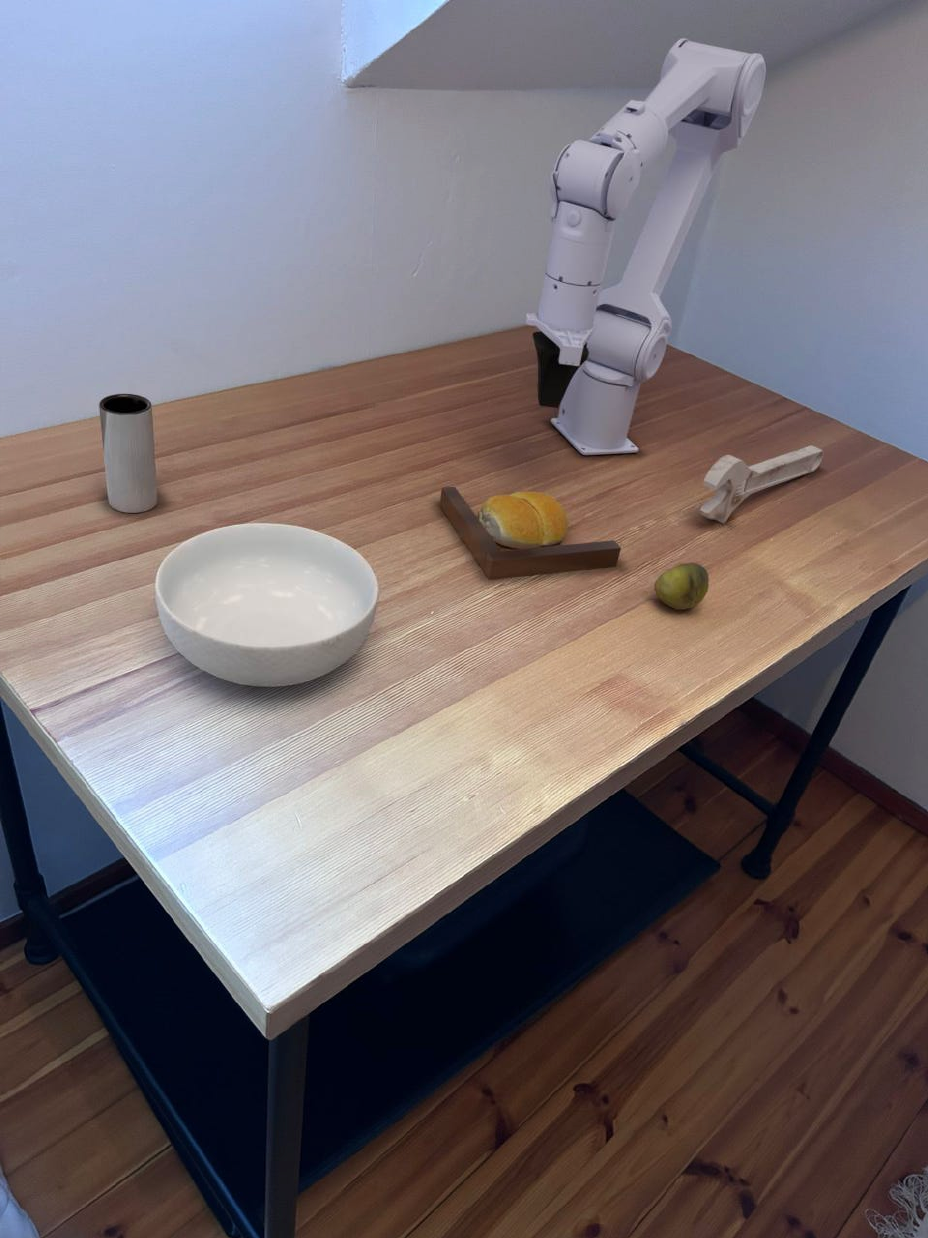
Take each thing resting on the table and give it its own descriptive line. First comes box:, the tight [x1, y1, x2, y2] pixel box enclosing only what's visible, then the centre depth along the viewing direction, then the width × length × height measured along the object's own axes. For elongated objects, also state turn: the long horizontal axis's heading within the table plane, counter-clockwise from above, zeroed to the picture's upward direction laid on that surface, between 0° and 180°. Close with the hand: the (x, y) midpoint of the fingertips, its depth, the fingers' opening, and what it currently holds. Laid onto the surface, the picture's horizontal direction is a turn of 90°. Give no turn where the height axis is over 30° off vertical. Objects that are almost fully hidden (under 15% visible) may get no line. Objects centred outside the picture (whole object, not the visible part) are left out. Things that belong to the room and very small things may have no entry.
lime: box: [654, 562, 710, 610], centre depth 89 cm, size 4×5×5 cm
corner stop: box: [439, 486, 622, 580], centre depth 97 cm, size 14×14×2 cm
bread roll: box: [478, 490, 569, 549], centre depth 97 cm, size 8×9×4 cm
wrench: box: [699, 445, 825, 524], centre depth 110 cm, size 8×2×30 cm
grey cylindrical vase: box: [98, 393, 158, 514], centre depth 89 cm, size 4×4×10 cm
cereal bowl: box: [154, 522, 380, 688], centre depth 75 cm, size 17×17×7 cm
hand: (548, 404), depth 102 cm, fingers closed
